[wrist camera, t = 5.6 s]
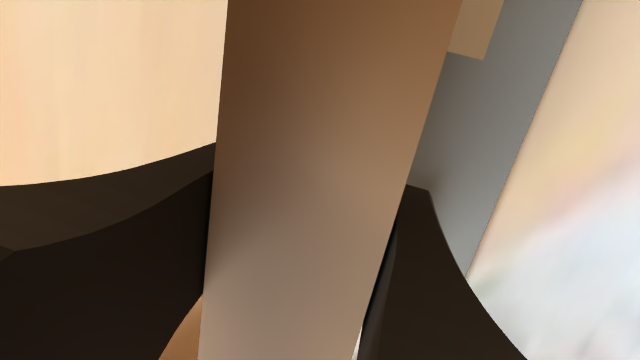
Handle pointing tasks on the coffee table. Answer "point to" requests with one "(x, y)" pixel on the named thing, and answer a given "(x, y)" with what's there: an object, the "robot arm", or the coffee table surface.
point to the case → (312, 167)
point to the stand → (485, 109)
